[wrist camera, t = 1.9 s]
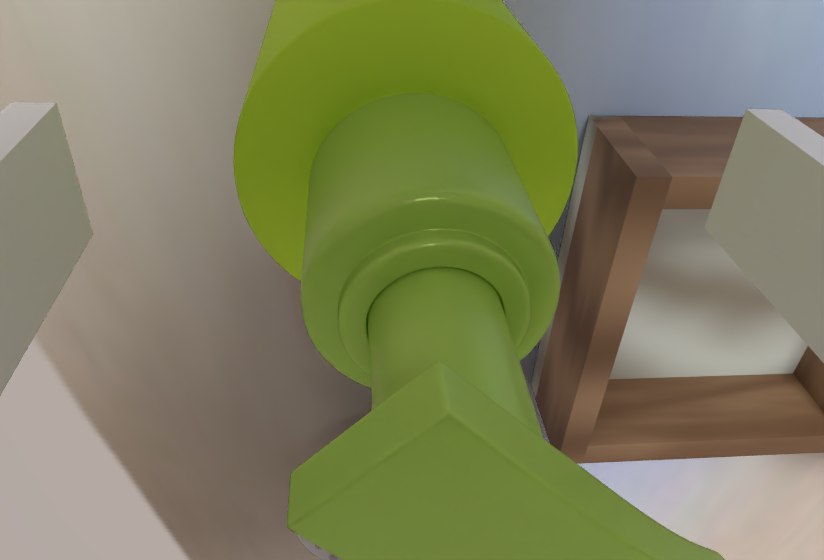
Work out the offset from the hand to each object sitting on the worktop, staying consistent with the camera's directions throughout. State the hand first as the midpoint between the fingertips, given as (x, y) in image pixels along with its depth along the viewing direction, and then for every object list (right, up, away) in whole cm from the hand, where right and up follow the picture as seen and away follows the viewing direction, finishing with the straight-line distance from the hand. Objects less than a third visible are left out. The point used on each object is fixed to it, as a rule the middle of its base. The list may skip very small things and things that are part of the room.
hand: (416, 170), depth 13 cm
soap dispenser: (-1, +7, +9) cm, 12 cm away
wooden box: (+14, -2, +17) cm, 22 cm away
